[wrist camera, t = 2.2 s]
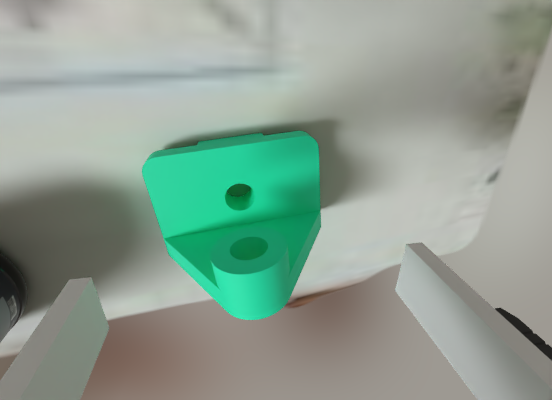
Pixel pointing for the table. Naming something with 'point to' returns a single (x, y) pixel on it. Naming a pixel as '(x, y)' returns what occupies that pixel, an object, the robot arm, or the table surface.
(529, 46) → the table surface
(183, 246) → the camera mount
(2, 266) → the supplement container
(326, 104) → the table surface
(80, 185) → the table surface
